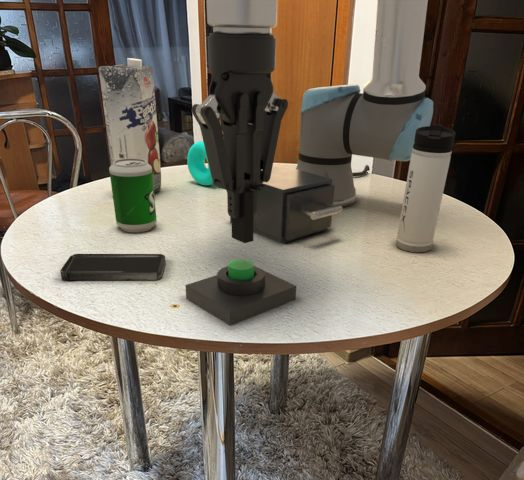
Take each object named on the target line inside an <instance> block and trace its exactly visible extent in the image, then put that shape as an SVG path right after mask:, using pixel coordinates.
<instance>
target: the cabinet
mask: <svg viewBox="0 0 524 480" xmlns="http://www.w3.org/2000/svg"><path fill="white" fill-rule="evenodd" d="M261 171H262V170H261ZM261 185H264V188H263V189H262V190H261V191H257V210H256V213H254V220H253V234H256V235H258V236H261V237H264V238H266V239H268V240H271V241H273V242H276V243H278V244H284V243H288V242H291V241H294V240H298V239H300V238H301V239H302V238H304V237H307V236H310V235H315V234H318V233H321V232H324V231H327V230H328V229H329V228H327V229H323V230H320V231H317V232H313V233H310V234H307V235H303V236H300V237H297V238H293V239H290V240H286V239H284V238H283V237H284V216H285V196H286V194H287V193H292V192H296V191H300V190H305V189H309V188H314V187H318V186H326V185H332V179H330V178H326V177H323V176H319V175H315V174H312V173H308V172H304V171H301V170H297V169H296V168H293V167H289V166H286V165H282V164H273V167H272V172H271V177H270V180H269V181H268V182H263V183H262V184H261ZM229 223H230V224H232V217H231V216H229Z"/></svg>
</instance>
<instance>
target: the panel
mask: <svg viewBox="0 0 524 480" xmlns="http://www.w3.org/2000/svg"><path fill="white" fill-rule="evenodd" d="M185 299H186V300H187V301H189V302H190V303H192V304H194V305H196V306H197V307H199V308H200V309H202V310H203V311H205V312H206V313H209V314H210V315H211V316H213V317H215V318H217V319H218V320H220V321H221V322H223V323H225V324H226V325H228V326H233V325H236V324H238V323H241V322H243V321H246V320H248V319H251V318H253V317H256V316H258V315H260V314H261V315H262V314H264V313H266V312H268V311H271V310H273V309H277V308H278V307H280V306H284V305H287V304H288V303H291V302H293V301H296V299H297V285H295V284H293V283H291V282H289V281H287V280H284V279H283V278H280V277H279V276H276V275H274V274H272V273H270V272H268V271H266V270H264V269H262V268H260V267H258V266H256V265H254V278H251V279H248V280H236V279H231V278H229V277H228V265H227V266H224V267H221V268H220V269H219V270H218V271H217V272H216V275H212V276H210V277H205V278H203V279H200V280H196V281H193V282H190V283H188V284H185Z"/></svg>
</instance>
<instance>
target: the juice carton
mask: <svg viewBox="0 0 524 480" xmlns="http://www.w3.org/2000/svg"><path fill="white" fill-rule="evenodd" d="M126 62H127V63H126V64H123V63H119V64H115V65H102V66H99V67H98V75H99V80H100V81H99V83H100V89H101V91H100V92H101V97H102V99H101V100H102V105H103V114H104V121H105V129H106V136H107V137H106V138H107V145H108V152H109V160H110V166H111V165H112V164H113V162H114V161H115V160H119V159H126V158H137V159H143V160H146V161H147V163H148V164H149V165H150V166H151V167H152V174H153V186H154V194H156V193H158V192H160V190H161V189H162V167H161V153H160V143H159V130H158V118H157V105H156V103H157V102H156V91H155V82H154V72H153V66H151V65H149V64H148V65H145V64H143V60H142V59H139V58H133V57H127V59H126Z"/></svg>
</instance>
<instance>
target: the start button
mask: <svg viewBox="0 0 524 480" xmlns="http://www.w3.org/2000/svg"><path fill="white" fill-rule="evenodd" d="M227 266H228V277H229V278H231V279H236V280H248V279H251V278H254V266H255V263H254V262H253V261H251V260H248V259H241V258H239V259H233V260H231V261H229V262H228V264H227Z"/></svg>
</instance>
